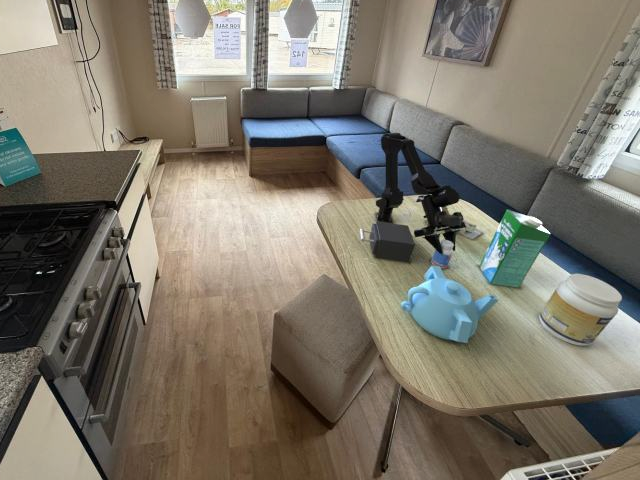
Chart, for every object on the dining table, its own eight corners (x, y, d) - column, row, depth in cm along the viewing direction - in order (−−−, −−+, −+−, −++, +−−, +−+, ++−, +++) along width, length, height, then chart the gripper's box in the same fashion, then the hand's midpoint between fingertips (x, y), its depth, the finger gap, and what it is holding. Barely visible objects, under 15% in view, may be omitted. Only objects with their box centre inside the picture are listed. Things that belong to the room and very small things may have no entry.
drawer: (359, 252, 118) (362, 237, 115) (357, 235, 128) (360, 221, 125) (402, 259, 115) (407, 244, 112) (397, 241, 125) (401, 227, 122)
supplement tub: (585, 356, 83) (623, 312, 75) (531, 324, 92) (559, 282, 84) (595, 333, 90) (631, 291, 82) (544, 306, 98) (571, 265, 90)
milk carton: (519, 288, 105) (554, 227, 93) (490, 283, 107) (521, 223, 95) (505, 270, 113) (537, 212, 101) (478, 266, 114) (506, 208, 103)
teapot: (453, 358, 82) (472, 322, 75) (390, 309, 95) (401, 276, 89) (485, 324, 91) (504, 290, 85) (423, 285, 105) (435, 253, 99)
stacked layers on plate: (448, 227, 136) (452, 217, 134) (458, 222, 141) (462, 211, 138) (472, 239, 129) (477, 228, 126) (482, 233, 133) (487, 222, 131)
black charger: (375, 257, 117) (380, 239, 113) (371, 238, 128) (376, 221, 124) (409, 263, 115) (415, 244, 111) (402, 242, 126) (408, 225, 122)
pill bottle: (445, 271, 111) (454, 249, 107) (429, 264, 114) (437, 243, 110) (448, 263, 115) (456, 242, 111) (432, 257, 118) (440, 236, 114)
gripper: (429, 208, 105) (445, 254, 101) (471, 201, 110) (487, 245, 106) (406, 216, 115) (420, 257, 111) (445, 209, 120) (460, 249, 116)
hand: (447, 252), depth 111 cm, fingers closed on pill bottle, 5 cm apart
